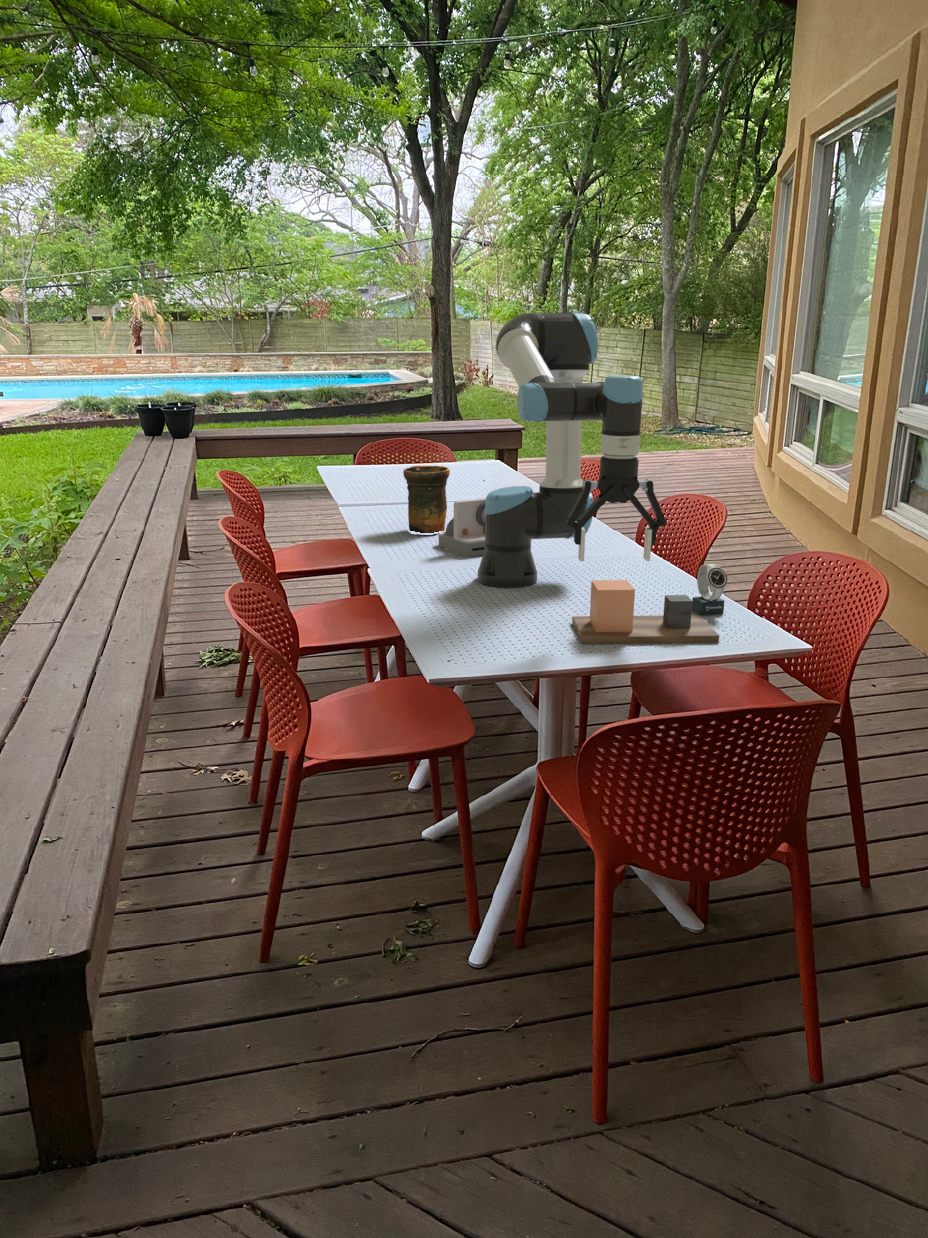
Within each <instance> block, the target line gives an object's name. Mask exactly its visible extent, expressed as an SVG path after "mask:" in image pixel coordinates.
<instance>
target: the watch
mask: <svg viewBox="0 0 928 1238" xmlns="http://www.w3.org/2000/svg"><path fill="white" fill-rule="evenodd" d="M728 580H729V577H728V575H727V573H726V571H725V570H724V569H723V568H722V567H720V566H719V565H717V564H715V563H706V564H702V565H701V566H699V568H698V572H697V577H696V582H697V583H696V585H697V589H698V592H699V594H700V595H701V596H693V597H692V612H694V613H696V614H697V615H700V616H701V617H703V616H704V617H705V616H712V615H723V614H724V610H725V600H724V599H722V598H721V597H722V595H723V592H724V591H725V589H726V586H727V585H728V584H727V583H728ZM710 593H711V594H710Z"/></svg>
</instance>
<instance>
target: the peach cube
mask: <svg viewBox="0 0 928 1238" xmlns="http://www.w3.org/2000/svg"><path fill="white" fill-rule="evenodd" d="M590 583H591V584H590V607H589V616H590V622H591V624H592V626H593V628H594V629H595V631H596V632H633V616H635V615H634V612H635V598H636V597H635V596H636V594H635V593H636V589H635V588H634V586H633V585H632V584H631V582H630V581H628V579H593V580H592V579H591V582H590Z"/></svg>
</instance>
